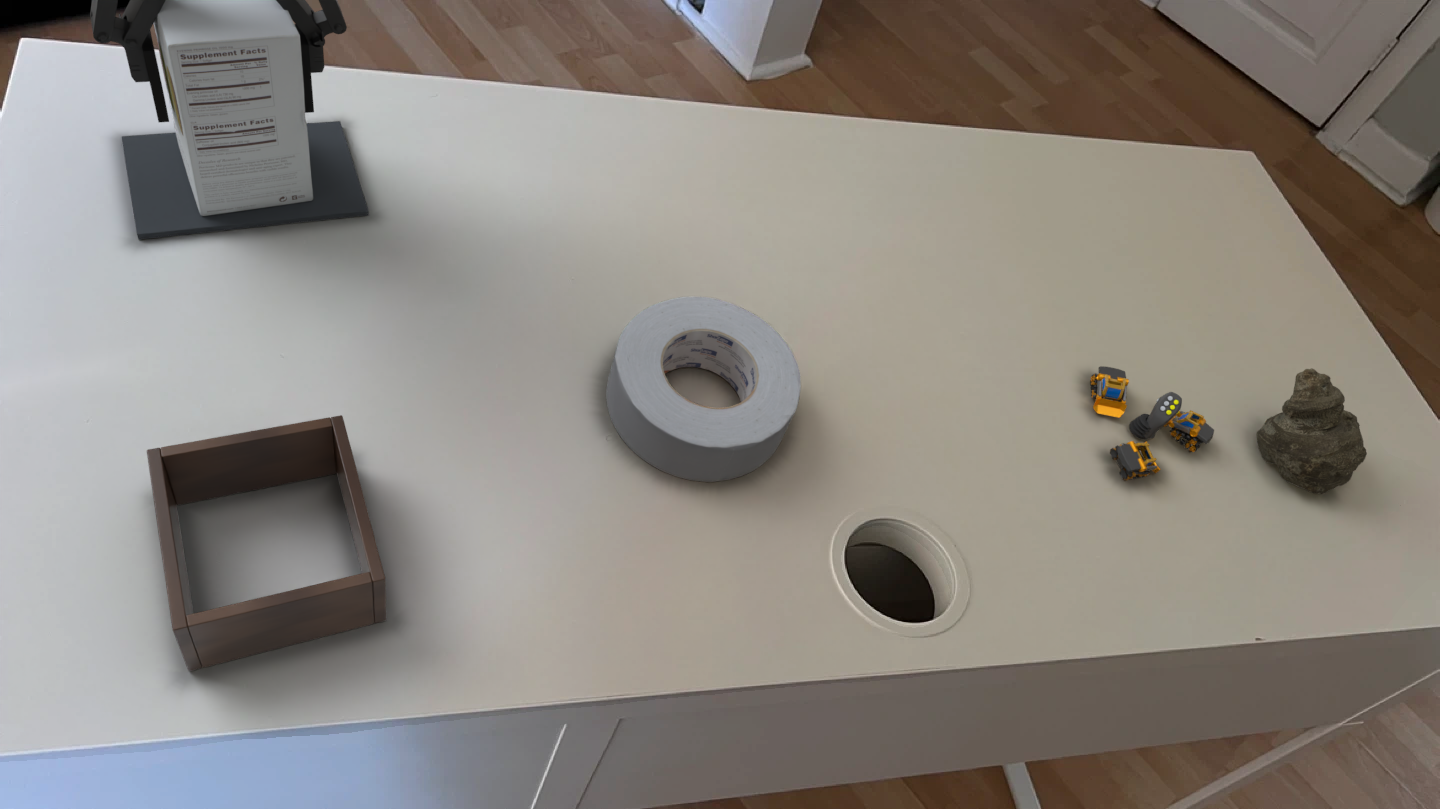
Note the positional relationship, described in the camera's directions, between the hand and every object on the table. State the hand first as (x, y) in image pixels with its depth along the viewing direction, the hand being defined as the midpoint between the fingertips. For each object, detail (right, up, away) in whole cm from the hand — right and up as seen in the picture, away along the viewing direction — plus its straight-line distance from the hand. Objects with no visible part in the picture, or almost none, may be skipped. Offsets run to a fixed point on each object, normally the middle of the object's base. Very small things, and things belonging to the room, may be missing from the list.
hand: (235, 106), depth 86 cm
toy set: (+77, -27, +12) cm, 83 cm away
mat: (-2, -5, +6) cm, 8 cm away
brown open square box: (+9, -35, -14) cm, 38 cm away
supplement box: (-2, -4, +6) cm, 7 cm away
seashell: (+95, -31, +15) cm, 100 cm away
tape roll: (+37, -24, +3) cm, 45 cm away
